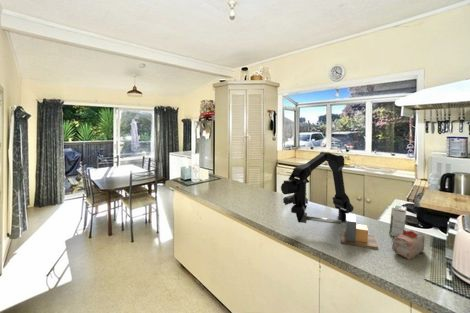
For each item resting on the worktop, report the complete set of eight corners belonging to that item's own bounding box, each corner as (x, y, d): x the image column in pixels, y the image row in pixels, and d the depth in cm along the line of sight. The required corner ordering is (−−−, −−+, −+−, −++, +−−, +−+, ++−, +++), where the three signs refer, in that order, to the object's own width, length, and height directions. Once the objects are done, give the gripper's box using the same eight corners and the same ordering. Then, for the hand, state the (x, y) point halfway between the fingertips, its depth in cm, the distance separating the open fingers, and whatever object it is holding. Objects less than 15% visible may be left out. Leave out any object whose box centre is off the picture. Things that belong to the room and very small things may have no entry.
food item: (411, 262, 96) (413, 239, 95) (389, 253, 103) (391, 231, 102) (425, 252, 103) (427, 230, 102) (405, 244, 110) (406, 224, 109)
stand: (340, 232, 123) (341, 212, 122) (373, 237, 118) (375, 216, 116) (341, 243, 112) (342, 221, 111) (378, 249, 107) (379, 225, 105)
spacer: (354, 235, 118) (354, 223, 117) (365, 237, 116) (366, 225, 115) (355, 240, 113) (356, 228, 112) (367, 242, 111) (368, 230, 110)
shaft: (299, 219, 127) (299, 211, 126) (341, 224, 119) (341, 217, 118) (297, 222, 123) (298, 214, 122) (341, 227, 115) (341, 220, 115)
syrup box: (390, 231, 124) (392, 204, 122) (404, 234, 120) (406, 206, 118) (389, 235, 119) (391, 207, 118) (403, 238, 116) (405, 210, 114)
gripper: (287, 186, 134) (287, 212, 136) (280, 195, 117) (280, 225, 119) (308, 187, 130) (307, 215, 132) (304, 197, 113) (303, 228, 115)
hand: (299, 220), depth 124 cm, fingers closed on shaft, 4 cm apart
